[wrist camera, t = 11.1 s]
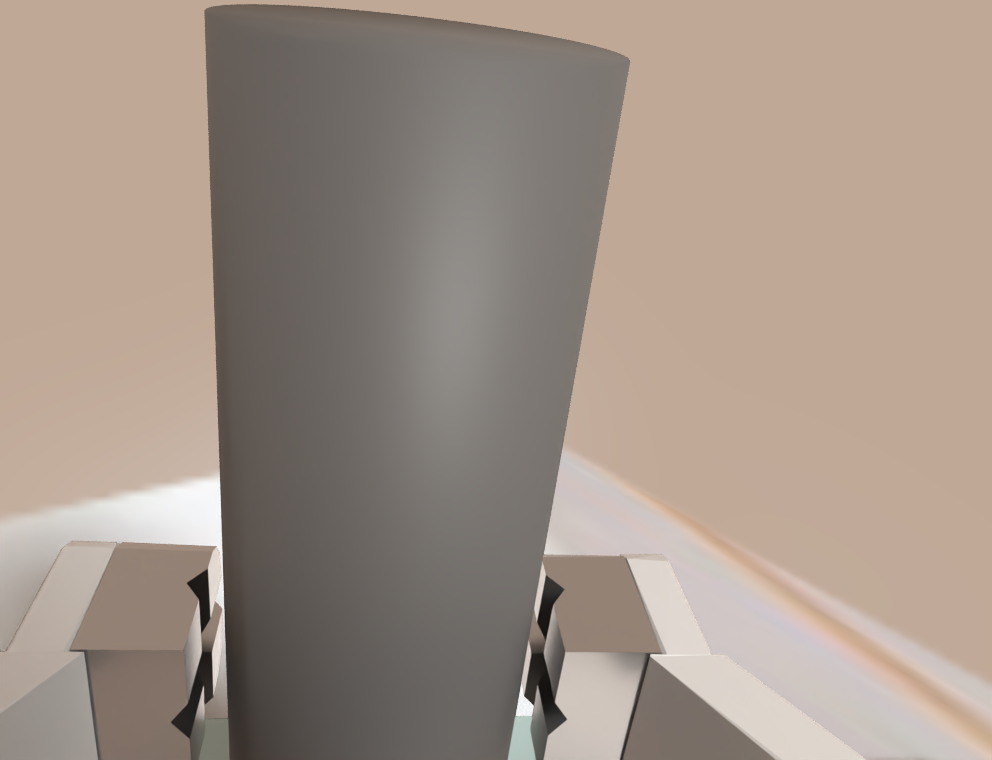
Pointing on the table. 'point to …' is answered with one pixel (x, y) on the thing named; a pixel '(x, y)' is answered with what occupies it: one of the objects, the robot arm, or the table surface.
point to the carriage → (393, 366)
